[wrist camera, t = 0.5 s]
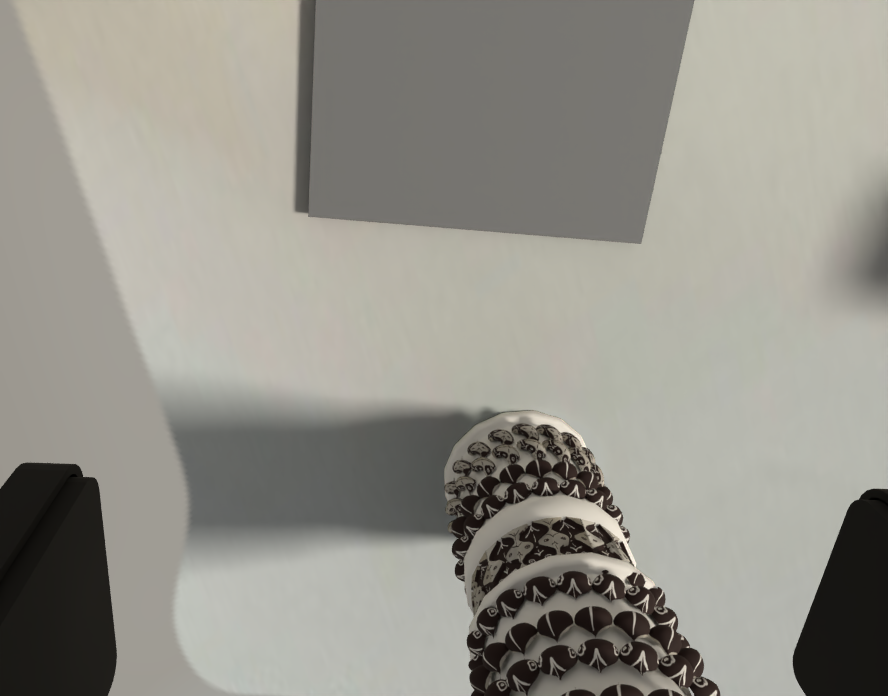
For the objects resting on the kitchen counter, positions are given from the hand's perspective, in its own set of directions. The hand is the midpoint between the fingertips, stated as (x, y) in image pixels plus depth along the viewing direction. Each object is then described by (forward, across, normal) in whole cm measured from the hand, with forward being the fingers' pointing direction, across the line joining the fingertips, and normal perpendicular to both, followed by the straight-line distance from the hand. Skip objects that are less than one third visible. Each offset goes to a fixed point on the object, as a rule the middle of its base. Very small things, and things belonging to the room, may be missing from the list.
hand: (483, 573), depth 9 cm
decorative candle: (+28, -8, +17) cm, 33 cm away
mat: (+28, -4, -7) cm, 29 cm away
